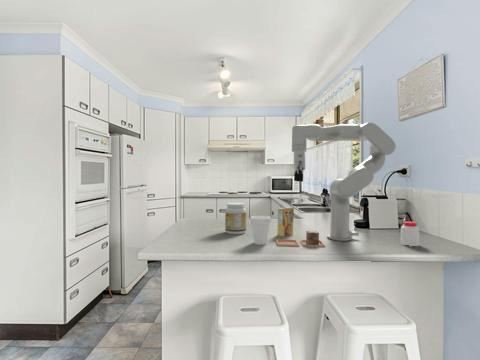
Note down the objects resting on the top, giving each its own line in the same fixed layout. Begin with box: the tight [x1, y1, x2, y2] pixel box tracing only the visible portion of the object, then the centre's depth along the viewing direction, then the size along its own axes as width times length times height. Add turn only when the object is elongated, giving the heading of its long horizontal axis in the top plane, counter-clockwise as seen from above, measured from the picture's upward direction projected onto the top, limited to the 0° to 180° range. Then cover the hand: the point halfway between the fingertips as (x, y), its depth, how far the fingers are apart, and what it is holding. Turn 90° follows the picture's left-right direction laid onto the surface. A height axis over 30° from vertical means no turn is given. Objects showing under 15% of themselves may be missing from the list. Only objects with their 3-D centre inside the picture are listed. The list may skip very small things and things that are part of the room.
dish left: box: [299, 239, 326, 248], centre depth 141 cm, size 10×10×1 cm
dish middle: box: [275, 238, 300, 248], centre depth 142 cm, size 10×10×1 cm
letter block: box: [305, 230, 320, 245], centre depth 141 cm, size 5×5×6 cm
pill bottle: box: [400, 220, 420, 247], centre depth 143 cm, size 8×8×11 cm
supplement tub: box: [224, 201, 247, 235], centre depth 168 cm, size 12×12×17 cm
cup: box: [250, 215, 272, 246], centre depth 143 cm, size 10×10×13 cm
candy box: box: [276, 206, 295, 237], centre depth 162 cm, size 9×4×15 cm, turn 129°
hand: (298, 181), depth 155 cm, fingers open, 9 cm apart
